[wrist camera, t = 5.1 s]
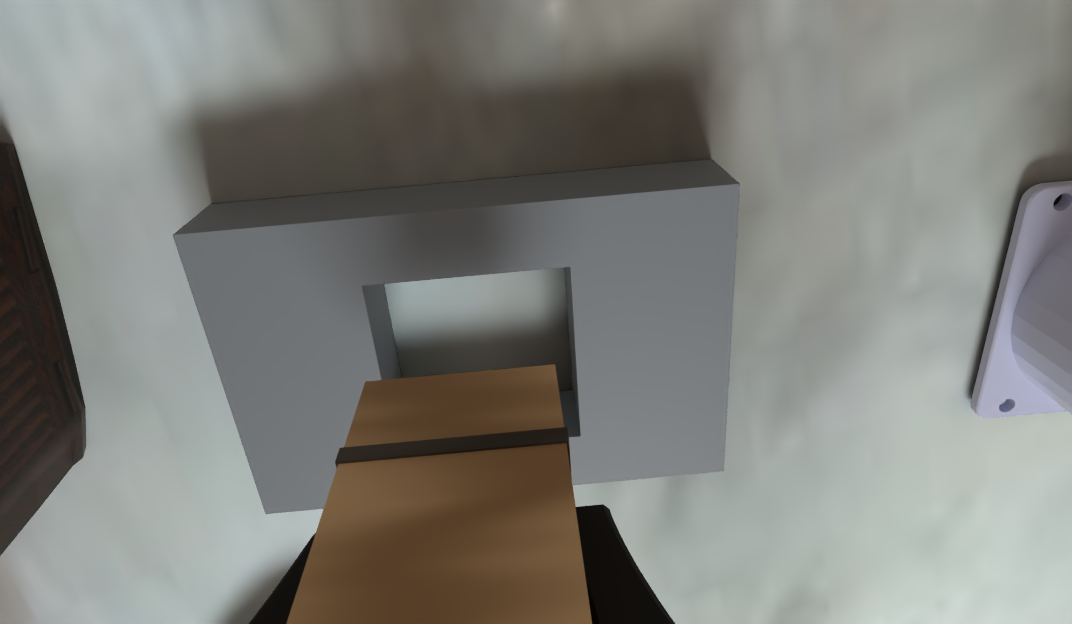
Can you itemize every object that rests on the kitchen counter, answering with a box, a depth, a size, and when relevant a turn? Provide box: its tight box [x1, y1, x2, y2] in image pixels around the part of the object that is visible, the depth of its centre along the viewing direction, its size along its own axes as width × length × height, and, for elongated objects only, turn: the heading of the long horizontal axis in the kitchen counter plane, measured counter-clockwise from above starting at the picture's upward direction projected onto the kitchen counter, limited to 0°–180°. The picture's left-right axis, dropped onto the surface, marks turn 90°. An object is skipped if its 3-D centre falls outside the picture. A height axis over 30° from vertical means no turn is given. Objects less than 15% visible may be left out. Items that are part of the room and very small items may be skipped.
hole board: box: [173, 159, 740, 514], centre depth 20 cm, size 14×9×2 cm, turn 94°
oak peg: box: [286, 364, 592, 624], centre depth 12 cm, size 4×4×8 cm
